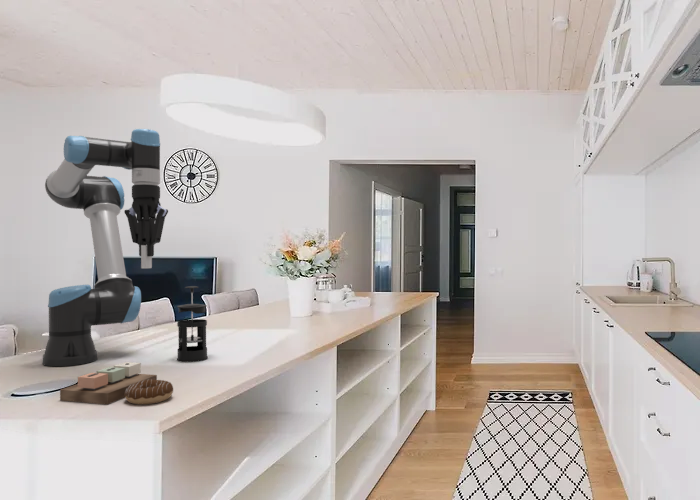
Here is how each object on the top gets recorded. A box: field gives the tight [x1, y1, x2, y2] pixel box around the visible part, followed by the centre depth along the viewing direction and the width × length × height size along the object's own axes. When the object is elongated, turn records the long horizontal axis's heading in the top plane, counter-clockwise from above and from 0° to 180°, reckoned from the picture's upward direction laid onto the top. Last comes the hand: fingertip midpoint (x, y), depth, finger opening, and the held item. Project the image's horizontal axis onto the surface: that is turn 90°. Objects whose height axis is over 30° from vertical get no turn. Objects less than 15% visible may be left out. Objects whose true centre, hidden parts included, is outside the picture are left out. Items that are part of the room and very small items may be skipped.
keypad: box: [59, 373, 158, 406], centre depth 131 cm, size 13×18×4 cm
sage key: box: [96, 366, 125, 382], centre depth 131 cm, size 4×4×3 cm
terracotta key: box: [77, 372, 108, 389], centre depth 125 cm, size 4×4×3 cm
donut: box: [124, 379, 174, 406], centre depth 125 cm, size 11×11×4 cm
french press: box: [176, 285, 209, 363], centre depth 170 cm, size 12×9×23 cm
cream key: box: [113, 361, 142, 376], centre depth 137 cm, size 4×4×3 cm
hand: (146, 268), depth 152 cm, fingers closed
